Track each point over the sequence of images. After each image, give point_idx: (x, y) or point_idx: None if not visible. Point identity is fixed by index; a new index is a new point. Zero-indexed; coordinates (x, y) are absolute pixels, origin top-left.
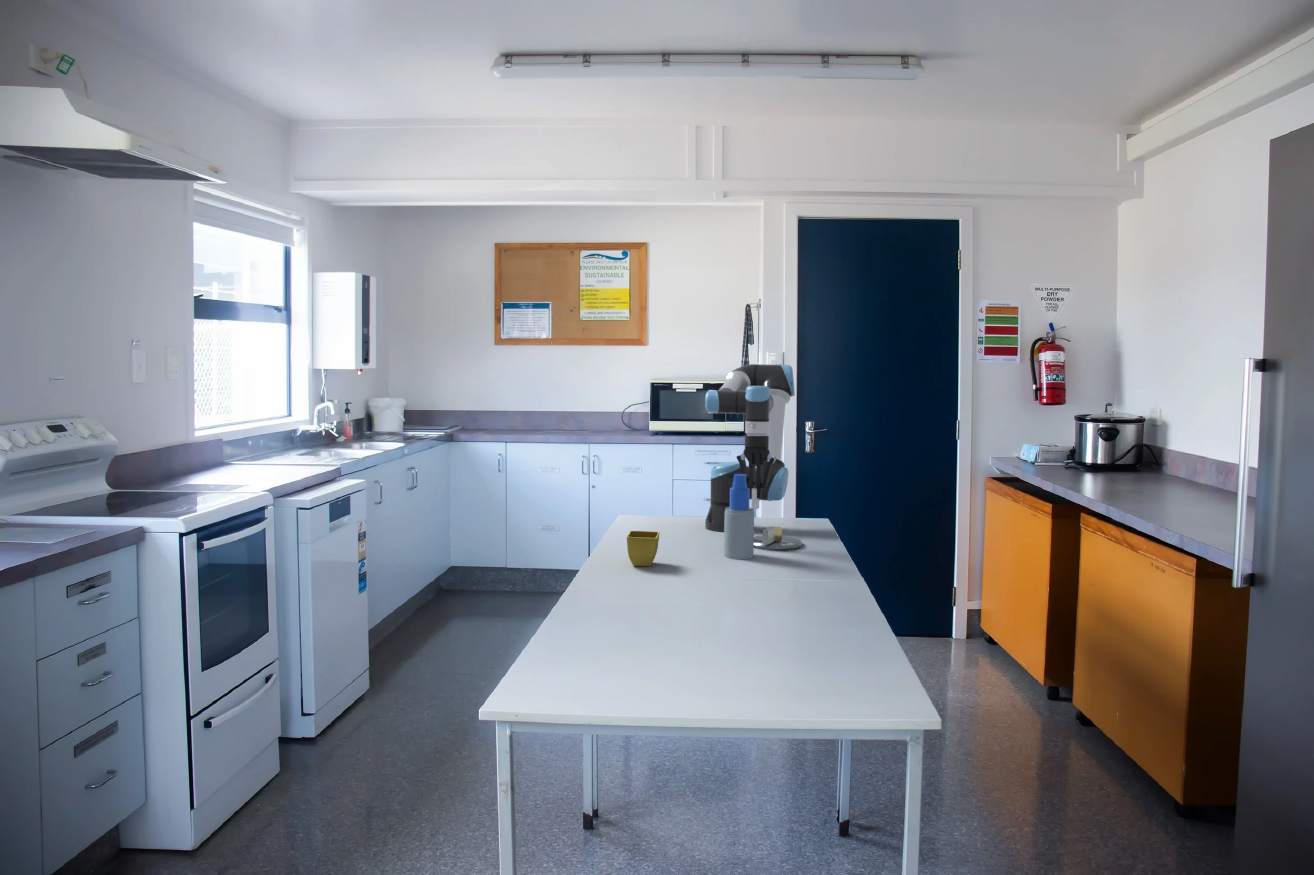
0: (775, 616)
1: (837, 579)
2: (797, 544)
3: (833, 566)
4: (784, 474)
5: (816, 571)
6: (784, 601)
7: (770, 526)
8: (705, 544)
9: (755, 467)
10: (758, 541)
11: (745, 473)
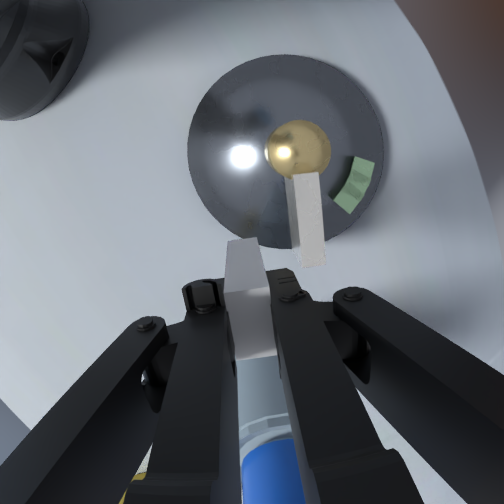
0: (424, 490)
1: (493, 355)
2: (379, 156)
3: (487, 284)
4: None
5: (464, 341)
6: (429, 467)
7: (294, 179)
8: (106, 297)
9: (219, 465)
10: (245, 197)
11: (136, 451)
